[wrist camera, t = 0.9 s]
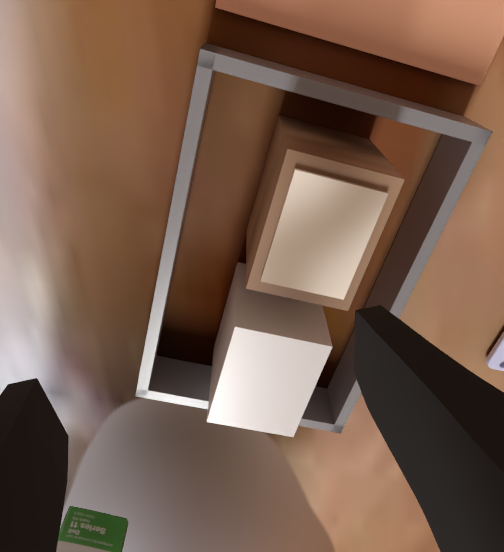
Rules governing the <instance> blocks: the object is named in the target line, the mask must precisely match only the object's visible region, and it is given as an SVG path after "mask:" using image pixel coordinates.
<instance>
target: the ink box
mask: <svg viewBox="0 0 504 552" xmlns="http://www.w3.org/2000/svg"><path fill="white" fill-rule="evenodd" d="M127 527H128V520H127V519H126V518H122V517H118V516H113V515H110V514H105V513H101V512H96V511H92V510H87V509H83V508H78V507H73V506H70V507H69V509H68V511H67V514H66V516H65V519H64V521H63V524H62V526H61V529H60V531H59V537H58V544H57V550H56V552H122V549H123V545H124V540H125V535H126V532H127Z"/></svg>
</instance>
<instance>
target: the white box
mask: <svg viewBox="0 0 504 552" xmlns="http://www.w3.org/2000/svg"><path fill="white" fill-rule="evenodd" d="M331 349H332V343H331V339H330V335H329V330H328V326H327V322H326V318H325V314H324V310H323V306H322V305H319V304H314V303H309V302H305V301H300V300H296V299H291V298H287V297H282V296H278V295H273V294H268V293H264V292H259V291H255V290H250V289H246V264H244V263H240V262H237V266H236V269H235V273H234V277H233V280H232V284H231V287H230V291H229V295H228V298H227V302H226V305H225V309H224V313H223V316H222V320H221V323H220V327H219V330H218V334H217V338H216V341H215V345H214V352H213V362H212V372H211V383H210V393H209V403H208V413H207V422H211V423H216V424H222V425H228V426H234V427H239V428H245V429H250V430H256V431H262V432H267V433H273V434H279V435H284V436H290V437H293V436H294V434H295V432H296V430H297V427H298V425H299V423H300V420H301V418H302V416H303V413H304V411H305V409H306V407H307V404H308V402H309V400H310V397H311V395H312V393H313V390H314V388H315V386H316V384H317V381H318V379H319V377H320V374H321V372H322V370H323V368H324V365H325V363H326V361H327V358H328V356H329V354H330V351H331Z"/></svg>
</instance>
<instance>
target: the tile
mask: <svg viewBox="0 0 504 552" xmlns="http://www.w3.org/2000/svg"><path fill="white" fill-rule="evenodd" d="M215 8H219V9H222V10H225V11H229V12H232V13H235V14H239V15H242V16H246V17H249V18H252V19H256V20H259V21H262V22H266V23H269V24H273V25H276V26H279V27H283V28H286V29H289V30H293V31H296V32H300V33H303V34H306V35H310V36H313V37H316V38H320V39H323V40H327V41H330V42H333V43H337V44H340V45H343V46H347V47H350V48H354V49H357V50H360V51H364V52H367V53H370V54H374V55H377V56H381V57H384V58H387V59H391V60H394V61H397V62H401V63H404V64H408V65H411V66H414V67H418V68H421V69H425V70H428V71H431V72H435V73H438V74H441V75H445V76H448V77H452V78H455V79H458V80H462V81H465V82H468V83H472V84H475V85H479V86H480V85H481V83H482V81H483V79H484V77H485V74H486V72H487V70H488V68H489V66H490V64H491V62H492V59H493V57H494V55H495V53H496V51H497V49H498V47H499V44H500V42H501V40H502V38H503V36H504V0H216V5H215Z"/></svg>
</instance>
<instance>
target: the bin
mask: <svg viewBox="0 0 504 552" xmlns="http://www.w3.org/2000/svg"><path fill="white" fill-rule="evenodd" d="M215 71H218V72H222V73H226V74H229V75H233V76H236V77H240V78H244V79H247V80H251V81H254V82H258V83H262V84H265V85H269V86H272V87H276V88H280V89H283V90H287V91H290V92H294V93H298V94H301V95H305V96H308V97H312V98H316V99H319V100H323V101H326V102H330V103H334V104H337V105H341V106H344V107H348V108H351V109H355V110H359V111H362V112H366V113H369V114H373V115H377V116H380V117H384V118H387V119H391V120H395V121H398V122H402V123H405V124H409V125H413V126H416V127H420V128H423V129H427V130H431V131H434V132H438V133H441V134H442V136H441V138H440V141H439V143H438V145H437V147H436V149H435V152H434V154H433V156H432V158H431V160H430V163H429V165H428V167H427V169H426V172H425V174H424V176H423V178H422V180H421V183H420V185H419V187H418V189H417V191H416V194H415V196H414V198H413V200H412V202H411V205H410V207H409V209H408V211H407V213H406V216H405V218H404V220H403V222H402V224H401V227H400V229H399V231H398V233H397V236H396V238H395V240H394V242H393V244H392V247H391V249H390V251H389V253H388V255H387V258H386V260H385V262H384V264H383V266H382V269H381V271H380V273H379V275H378V277H377V280H376V282H375V284H374V286H373V289H372V291H371V293H370V295H369V297H368V300H367V302H366V304H365V306H364V308H369V307H373V306H378V305H381V306H383V307H384V308H385V309H387V310H388V311H389V312H391V313H392V314H393V315H395V316H396V317H397V318H399V317H400V315H401V313H402V311H403V309H404V307H405V305H406V303H407V301H408V299H409V297H410V295H411V293H412V291H413V289H414V287H415V285H416V283H417V281H418V279H419V277H420V275H421V273H422V271H423V269H424V267H425V265H426V263H427V261H428V259H429V257H430V255H431V253H432V251H433V249H434V247H435V245H436V243H437V241H438V239H439V237H440V235H441V233H442V231H443V229H444V227H445V225H446V223H447V221H448V219H449V217H450V215H451V213H452V211H453V209H454V207H455V205H456V203H457V201H458V199H459V197H460V195H461V193H462V191H463V189H464V187H465V185H466V183H467V181H468V179H469V178H470V176H471V174H472V172H473V170H474V168H475V166H476V164H477V162H478V160H479V158H480V156H481V154H482V152H483V150H484V148H485V146H486V144H487V142H488V140H489V138H490V136H491V134H492V132H493V131H491V130H489V129H487V128H485V127H483V126H481V125H479V124H477V123H475V122H474V121H472V120H470V119H468V118H466V117H464V116H461V115H457V114H454V113H450V112H447V111H443V110H440V109H436V108H433V107H429V106H426V105H422V104H419V103H415V102H412V101H408V100H405V99H401V98H398V97H394V96H391V95H387V94H384V93H380V92H377V91H373V90H370V89H366V88H363V87H359V86H356V85H352V84H349V83H345V82H342V81H338V80H335V79H331V78H328V77H324V76H321V75H317V74H314V73H310V72H307V71H303V70H300V69H296V68H293V67H289V66H286V65H282V64H279V63H275V62H272V61H268V60H265V59H261V58H258V57H254V56H251V55H247V54H244V53H240V52H237V51H233V50H230V49H226V48H223V47H219V46H216V45H212V44H209V43H206V44H205V45H204V46H203V47H202V48H201V49H200V53H199V58H198V64H197V69H196V74H195V80H194V85H193V90H192V96H191V101H190V106H189V112H188V117H187V123H186V128H185V133H184V139H183V144H182V149H181V155H180V160H179V165H178V171H177V176H176V182H175V187H174V192H173V198H172V203H171V208H170V214H169V219H168V224H167V230H166V235H165V240H164V246H163V251H162V257H161V262H160V267H159V273H158V278H157V283H156V289H155V294H154V299H153V305H152V310H151V315H150V321H149V326H148V332H147V337H146V342H145V348H144V353H143V358H142V364H141V369H140V374H139V380H138V385H137V391H136V396H138V397H143V398H149V399H154V400H160V401H165V402H171V403H176V404H182V405H187V406H193V407H199V408H204V409H208V403H209V393H210V383H211V372H212V366H208V365H203V364H198V363H192V362H187V361H182V360H177V359H172V358H167V357H162V356H157V352H158V347H159V342H160V337H161V332H162V327H163V322H164V317H165V313H166V308H167V303H168V298H169V293H170V288H171V283H172V278H173V273H174V269H175V264H176V259H177V254H178V249H179V244H180V239H181V234H182V230H183V225H184V220H185V215H186V210H187V205H188V200H189V195H190V190H191V186H192V181H193V176H194V171H195V166H196V161H197V156H198V151H199V147H200V142H201V137H202V132H203V127H204V122H205V117H206V112H207V107H208V103H209V98H210V93H211V88H212V83H213V78H214V73H215ZM364 308H363V309H364ZM354 340H355V328H354V330H353V333H352V335H351V337H350V339H349V341H348V344H347V346H346V348H345V350H344V353H343V355H342V357H341V359H340V361H339V364H338V366H337V368H336V370H335V372H334V375H333V377H332V379H331V381H330V383H329V386H328V388H321V387H316V386H315V388H314V390H313V393H312V395H311V397H310V400H309V402H308V404H307V407H306V409H305V411H304V413H303V416H302V418H301V420H300V423H299V425H298V426H303V427H308V428H314V429H319V430H325V431H330V432H336V433H341V432H342V430H343V428H344V426H345V424H346V422H347V420H348V418H349V416H350V414H351V412H352V410H353V408H354V406H355V404H356V402H357V400H358V398H359V396H360V394H361V390H360V387H359V385H358V382H357V379H356V377H355V374H354Z"/></svg>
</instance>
